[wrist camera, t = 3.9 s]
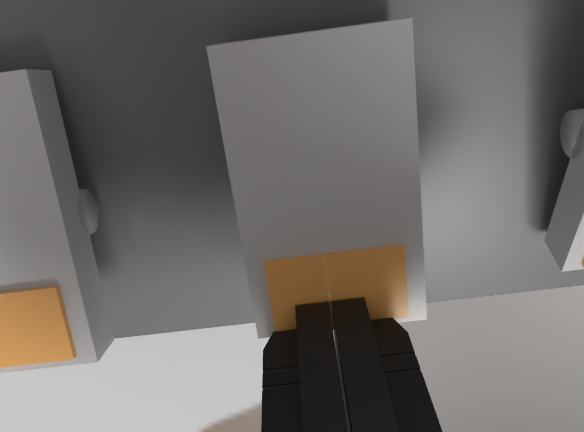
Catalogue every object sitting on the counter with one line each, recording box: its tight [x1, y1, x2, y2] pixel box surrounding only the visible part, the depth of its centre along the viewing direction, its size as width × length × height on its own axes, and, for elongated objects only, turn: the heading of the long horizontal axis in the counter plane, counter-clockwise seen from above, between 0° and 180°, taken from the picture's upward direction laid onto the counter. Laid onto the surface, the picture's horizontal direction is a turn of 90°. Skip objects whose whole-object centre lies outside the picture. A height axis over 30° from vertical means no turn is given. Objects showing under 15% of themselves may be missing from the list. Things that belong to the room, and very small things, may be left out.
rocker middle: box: [206, 18, 427, 338], centre depth 11 cm, size 4×6×2 cm, turn 7°
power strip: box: [0, 0, 584, 338], centre depth 13 cm, size 32×9×3 cm, turn 97°
